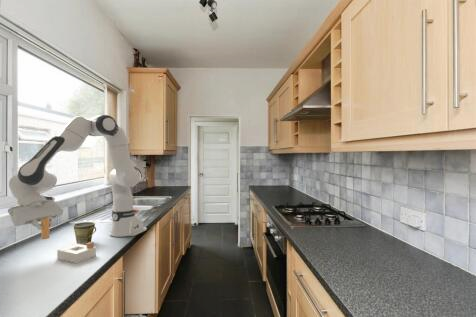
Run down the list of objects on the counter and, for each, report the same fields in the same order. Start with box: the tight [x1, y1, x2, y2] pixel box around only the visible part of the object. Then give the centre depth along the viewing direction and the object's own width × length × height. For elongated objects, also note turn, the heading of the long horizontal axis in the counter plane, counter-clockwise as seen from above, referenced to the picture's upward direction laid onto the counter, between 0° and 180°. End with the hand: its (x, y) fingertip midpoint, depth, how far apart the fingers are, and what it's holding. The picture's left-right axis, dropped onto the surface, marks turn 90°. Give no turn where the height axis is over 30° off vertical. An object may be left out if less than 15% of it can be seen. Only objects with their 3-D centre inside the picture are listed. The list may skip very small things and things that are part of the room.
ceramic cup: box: [73, 221, 97, 245], centre depth 146 cm, size 13×10×10 cm
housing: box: [56, 241, 97, 264], centre depth 126 cm, size 10×12×6 cm
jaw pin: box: [40, 217, 50, 240], centre depth 124 cm, size 3×3×9 cm
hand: (46, 227), depth 124 cm, fingers closed on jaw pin, 3 cm apart
